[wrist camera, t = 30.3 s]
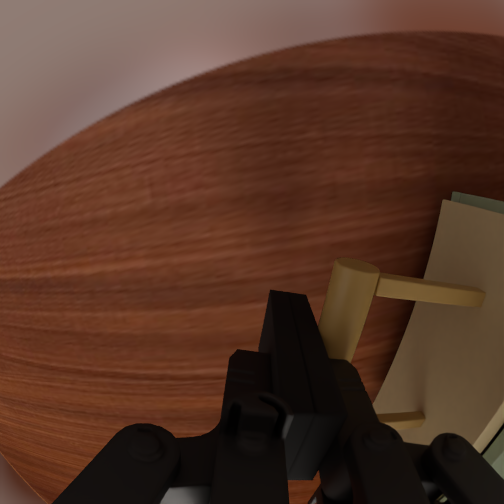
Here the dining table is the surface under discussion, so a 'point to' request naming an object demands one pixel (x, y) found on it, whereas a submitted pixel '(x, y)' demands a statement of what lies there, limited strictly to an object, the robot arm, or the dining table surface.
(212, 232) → the dining table surface
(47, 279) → the dining table surface
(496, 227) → the drawer
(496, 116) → the dining table surface
